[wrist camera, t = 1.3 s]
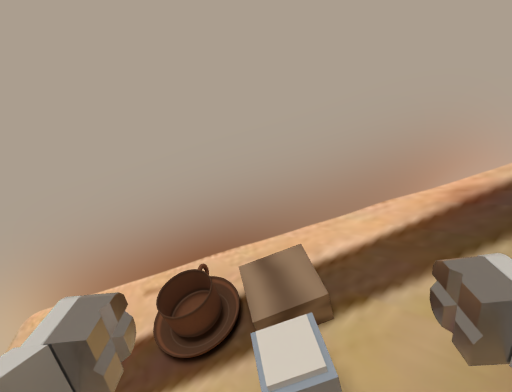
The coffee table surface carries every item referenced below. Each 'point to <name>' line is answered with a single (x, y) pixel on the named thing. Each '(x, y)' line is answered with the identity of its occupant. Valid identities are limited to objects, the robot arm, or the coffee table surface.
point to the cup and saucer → (194, 313)
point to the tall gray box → (294, 358)
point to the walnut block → (284, 289)
